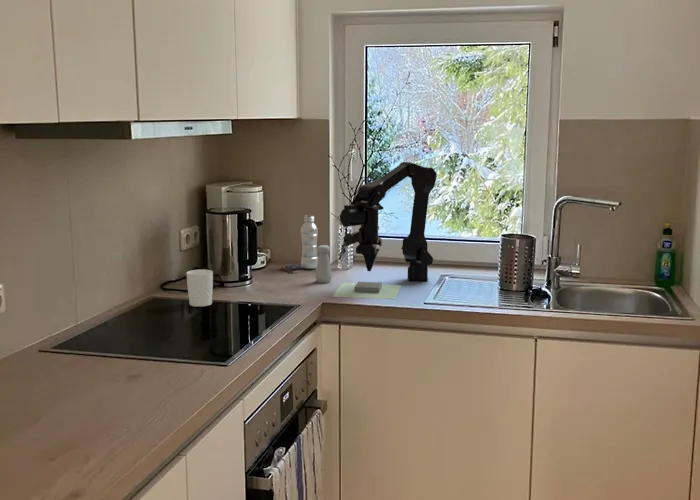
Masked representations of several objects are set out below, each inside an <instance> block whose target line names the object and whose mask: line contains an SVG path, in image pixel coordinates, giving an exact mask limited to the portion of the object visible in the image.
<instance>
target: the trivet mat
mask: <svg viewBox="0 0 700 500" xmlns="http://www.w3.org/2000/svg"><path fill="white" fill-rule="evenodd" d="M356 284H357V282H356V283H352V282H343V283H341V285H340V286H339V288H338V289H337V290H336V291H335V292H334V293H333V295H332V296H331V297H334V298H335V297H337V298H357V299H382V300H383V299H385V300H396V299H397V296H398V294H399V292H400V290H401V287H402V285H401V284H382V288H381V290H380V292H379V293H370V292H355V286H356Z"/></svg>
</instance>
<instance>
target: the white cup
mask: <svg viewBox="0 0 700 500" xmlns="http://www.w3.org/2000/svg"><path fill="white" fill-rule="evenodd" d="M185 275H186V285H187V292H188V293H187V295H188V301H189V303H188V304H189V305H190V307H191V306H192V307H197V308H198V307H200V308H201V307H208V306H211V305H212V304H213V288H214V286H213V285H214V271H213V270H210V269H192V270H188V271H186V274H185Z"/></svg>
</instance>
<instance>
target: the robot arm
mask: <svg viewBox="0 0 700 500" xmlns="http://www.w3.org/2000/svg"><path fill="white" fill-rule="evenodd" d="M407 177H408V178H410V179H411V183H410V184H411V186H412V189H413V191H414V194H413V195H414V197H413V202H412V203H413V204H412V211H411V221H410V229H409V234H408V235H407V237H403V239H402V246H401V249H400V250H402V255H403V256H404V259H405V263H409V265H408V267H407V280H408V282H413V283H415V282H419V283H420V282H421V283H427V282H429V281H428V280H429V266H430V265H432V264H433V262H434V257H433V256H432V254H431V253H430V252H429V251H428V242H427V239H426V237H425V232H426V231H425V230H426V223H427V215H428V204H429V198H430V197H429V195H430V193H431V192H432V190H433V189H434V188H435V184H436V182H437V171H436V170H435V168H434V167H430V166H429V167H428V166H427V167H426V166H422V165H419V164H416V163H414V162H411V161H402V162H400V163H399V165H397V166H396V167H394V168H393V169H392V170H390V171H388V172H387V173H386V174H385V175H383V176H381V177H380V178H379V179H377V180H373V181H370V182H366V183H364V184H362V185H361V186H360V187H358V189H357V190H358V191H357V193H356V195H355V196H354V199H353V201H352V203H351V204H350V205H349V204H344V206H343V209H342V210H341V212H340V214H339V221H340V224H341V225H342V226H343V227H345V228H346V227H356V226H359V228H358V231H354V232H347V233H345V234H344V236H343V237H342V239H343V241H342V242H343V243H344V244H345V247H350V246H351V245H353V244H355V243H358V245H357V246H356V247H355V254H357V255H362V256H363V258H364V262H365V266H366V270H367V272H371V271H372V269H373V267H374V264H375V261H376V259H377V256H378V255H379V251H380V250H381V249H380V248H377V246H379V247H382V246H383V239H382V238H381V237H380V236H379V230H380V226H379V210H381V211H382V210H384V206H382V205H381V203H380V202H381V201H382V200H383V199H384V198H385V197H386V194H387V192H388V191H389V190H391V189H392V188H393V187H395V186H396V185H398V184H399V183H401V182H402V181H403V180H405V179H407Z"/></svg>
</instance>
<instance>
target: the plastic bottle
mask: <svg viewBox="0 0 700 500" xmlns="http://www.w3.org/2000/svg"><path fill="white" fill-rule="evenodd" d="M303 221H304V223H303V224H302V225H301V227H300V237H301V245H302V246H301V248H302V249H301V260H300V264H301V265H300V266H301V267H302V268H303V269H307V270H314V269H317V263H318V257H319V255H318V251H317V248H318V245H317V244H318V234H319V229H318V226H317V225H316V223H315V215H304V217H303Z"/></svg>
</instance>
